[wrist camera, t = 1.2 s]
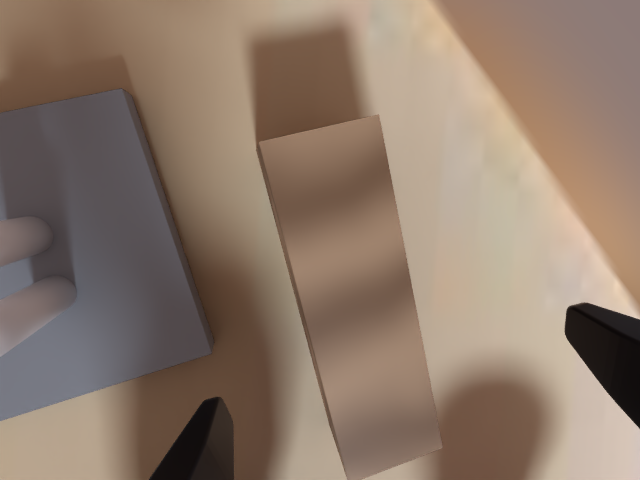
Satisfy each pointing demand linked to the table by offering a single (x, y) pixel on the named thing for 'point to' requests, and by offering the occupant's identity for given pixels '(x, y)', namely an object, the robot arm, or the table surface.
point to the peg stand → (87, 256)
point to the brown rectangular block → (353, 291)
